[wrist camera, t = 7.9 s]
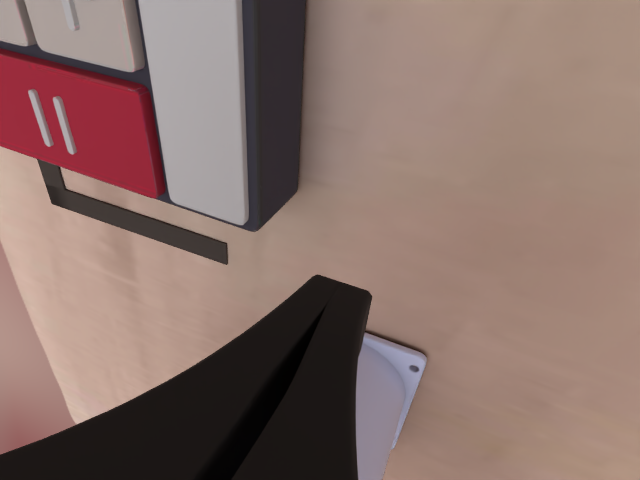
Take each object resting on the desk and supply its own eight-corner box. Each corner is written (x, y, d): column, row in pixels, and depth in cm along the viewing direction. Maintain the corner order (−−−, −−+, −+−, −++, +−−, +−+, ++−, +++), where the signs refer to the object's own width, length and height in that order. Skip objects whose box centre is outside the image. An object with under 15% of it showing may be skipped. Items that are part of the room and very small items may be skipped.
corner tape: (227, 263, 26) (226, 265, 26) (52, 203, 29) (51, 203, 29) (206, -222, 14) (204, -223, 14) (-91, -240, 17) (-94, -241, 17)
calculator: (-134, -136, 16) (237, -100, 11) (-15, -128, 19) (311, -98, 14) (-14, 153, 22) (249, 246, 18) (60, 123, 26) (298, 196, 21)
